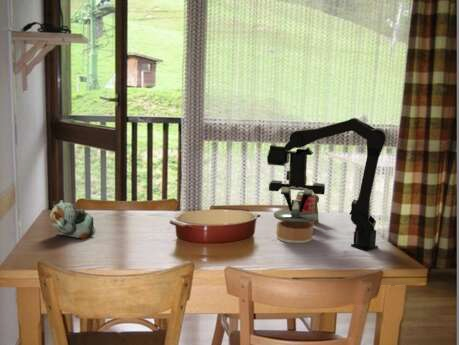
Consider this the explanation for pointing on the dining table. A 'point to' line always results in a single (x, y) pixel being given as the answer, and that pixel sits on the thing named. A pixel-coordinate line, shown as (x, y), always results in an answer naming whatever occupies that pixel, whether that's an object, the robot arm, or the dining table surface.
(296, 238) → the bowl
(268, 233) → the dining table surface
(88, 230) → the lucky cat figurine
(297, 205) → the lid
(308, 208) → the soda can
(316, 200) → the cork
